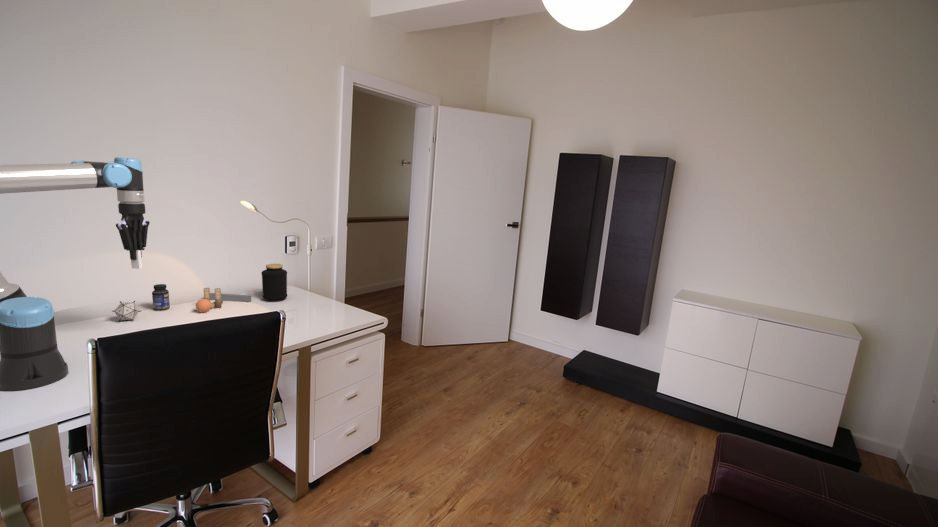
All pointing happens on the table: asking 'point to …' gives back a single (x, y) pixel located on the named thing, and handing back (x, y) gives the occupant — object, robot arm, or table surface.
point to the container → (274, 282)
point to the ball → (203, 305)
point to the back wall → (232, 297)
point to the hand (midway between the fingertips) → (137, 268)
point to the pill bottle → (160, 297)
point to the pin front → (214, 304)
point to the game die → (126, 311)
